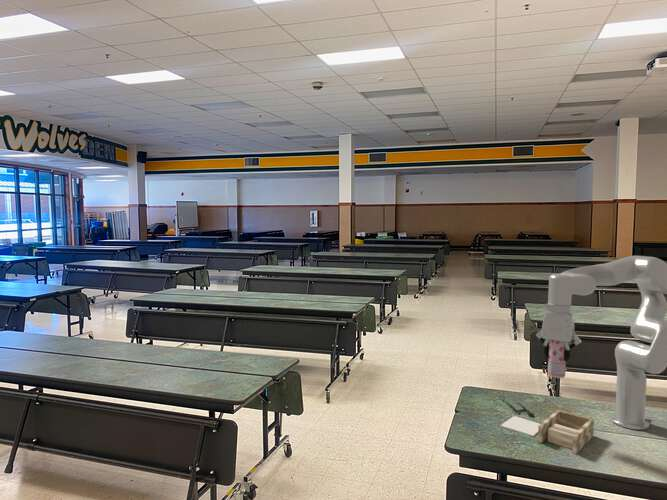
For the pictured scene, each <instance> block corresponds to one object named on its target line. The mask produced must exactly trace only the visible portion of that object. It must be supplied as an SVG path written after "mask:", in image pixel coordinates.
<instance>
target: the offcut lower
mask: <svg viewBox="0 0 667 500" xmlns="http://www.w3.org/2000/svg"><path fill="white" fill-rule="evenodd" d="M547 442H549V443H552V444H555V445H558V446H561V447H564V448H567V449H571V450H572V448H573V443H570V442H567V441H564V440H561V439H558V438H554V437H551V436H548V438H547Z"/></svg>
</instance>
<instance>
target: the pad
mask: <svg viewBox="0 0 667 500" xmlns="http://www.w3.org/2000/svg"><path fill="white" fill-rule="evenodd" d="M540 424H541V422H540V423H539V422H536V421H532V420H529V419H525V418H523V417H522V418H521V417H518V416H515V415H513V416H512V417H511V418H508V420H505V422H503V423H502V424H500V427H501V428H505V429H507V430H510V431H513V432H517V433H520V434H523V435H525V436H526V435H527V436H529V437H532V438H533V437H535V436H537V435H538V425H540Z"/></svg>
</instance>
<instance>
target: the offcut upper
mask: <svg viewBox="0 0 667 500" xmlns="http://www.w3.org/2000/svg"><path fill="white" fill-rule="evenodd" d="M577 431H578V430H575V429H572V428H569V427H565V426H562V425H558V424H555V423H554V424H553V425H552V426H551V427H549V428H548V436H551V437H554V438H558V439H561V440H564V441H567V442H570V443H573V435H574V434H575V433H576V432H577Z"/></svg>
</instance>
